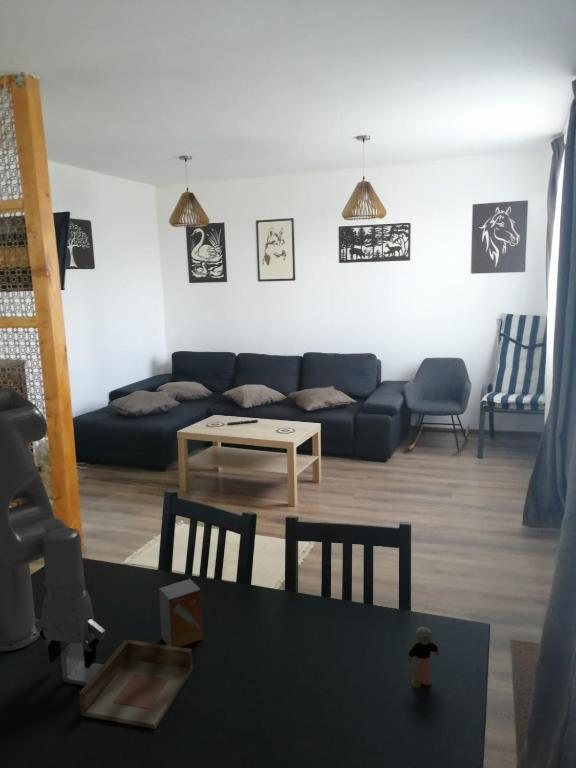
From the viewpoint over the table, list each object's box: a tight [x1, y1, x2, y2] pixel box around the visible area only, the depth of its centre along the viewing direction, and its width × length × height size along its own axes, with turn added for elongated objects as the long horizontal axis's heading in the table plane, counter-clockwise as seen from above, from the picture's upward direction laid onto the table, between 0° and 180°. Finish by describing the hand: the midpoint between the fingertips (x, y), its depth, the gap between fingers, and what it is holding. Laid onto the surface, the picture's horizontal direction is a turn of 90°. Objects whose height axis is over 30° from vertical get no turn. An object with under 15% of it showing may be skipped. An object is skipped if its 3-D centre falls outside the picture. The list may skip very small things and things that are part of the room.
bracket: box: [60, 642, 104, 687], centre depth 131 cm, size 7×6×7 cm
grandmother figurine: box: [405, 626, 441, 689], centre depth 126 cm, size 8×4×13 cm, turn 117°
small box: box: [158, 578, 203, 648], centre depth 143 cm, size 8×6×13 cm
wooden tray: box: [78, 639, 194, 730], centre depth 126 cm, size 16×18×5 cm
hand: (72, 660), depth 132 cm, fingers open, 8 cm apart
